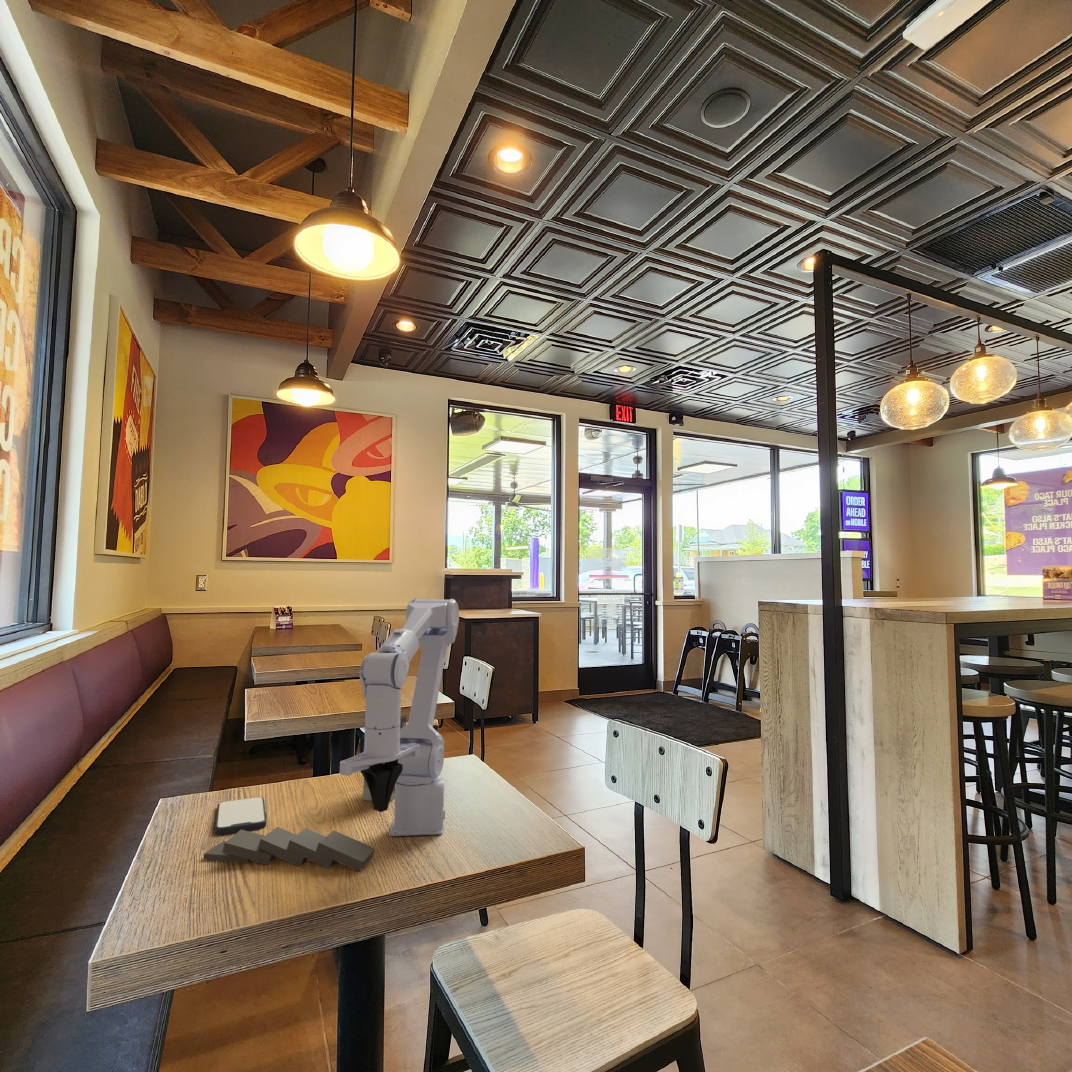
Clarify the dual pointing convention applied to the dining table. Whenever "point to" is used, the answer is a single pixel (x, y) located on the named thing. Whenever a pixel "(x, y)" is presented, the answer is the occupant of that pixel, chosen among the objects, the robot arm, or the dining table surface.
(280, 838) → the domino
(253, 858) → the domino
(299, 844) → the domino
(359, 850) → the domino
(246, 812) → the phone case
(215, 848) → the end domino
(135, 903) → the dining table surface
